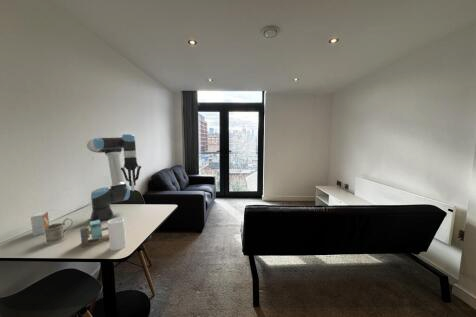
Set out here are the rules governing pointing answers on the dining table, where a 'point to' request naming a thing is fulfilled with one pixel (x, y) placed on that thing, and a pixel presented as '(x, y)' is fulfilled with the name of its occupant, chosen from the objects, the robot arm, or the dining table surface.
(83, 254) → the dining table surface
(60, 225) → the mug
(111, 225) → the cup
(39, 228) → the small box
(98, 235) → the sleeve
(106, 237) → the rail
